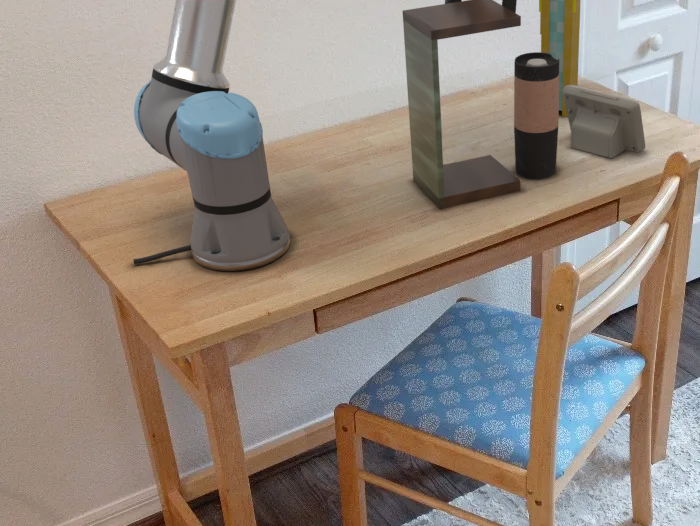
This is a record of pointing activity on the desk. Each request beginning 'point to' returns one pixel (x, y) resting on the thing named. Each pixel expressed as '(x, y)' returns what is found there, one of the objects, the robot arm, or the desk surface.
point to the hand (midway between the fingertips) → (479, 21)
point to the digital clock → (603, 121)
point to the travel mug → (536, 114)
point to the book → (561, 39)
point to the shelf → (424, 103)
